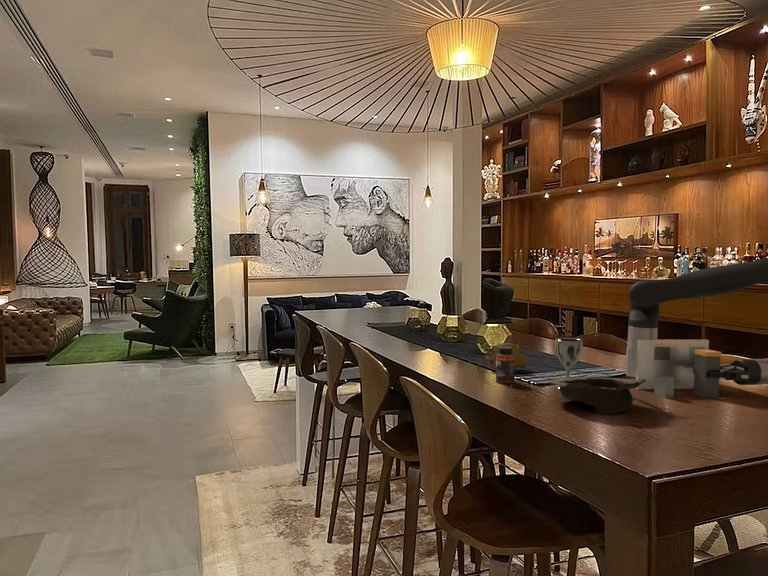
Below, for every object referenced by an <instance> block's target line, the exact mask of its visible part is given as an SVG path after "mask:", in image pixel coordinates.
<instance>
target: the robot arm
mask: <svg viewBox="0 0 768 576" xmlns="http://www.w3.org/2000/svg"><path fill="white" fill-rule="evenodd" d="M764 283H768V257H764V258H761V259H756V260H752V261H746V262H738V263H732V264H725V265H718V266H713V267H707V268H702V269H699V270H694V271H690V272H687V273H683V274H681V275H678V276H674V277H669V278H663V279H655V280H654V279H653V280H649V279H648V280H646V279H645V280H644V279H643V280H639V281H636V282H635V283H633V284H632V285H631V286H630V289H629V290H628V299H629V300H630V304H629V305H630V308H629V309H630V310H629V316H628V329H627V346H626V352H625V353H626V354H625V355H626V358H625V375H626V377H631V378H635V379H636V364H637V342H638V340H658V332H659V331H658V327H659V325H658V324H659V316H660V304H663V303H667V302H670V301H675V300H690V299H691V300H692V299H699V298H700V299H701V298H703V299H704V298H708V297H709V298H710V297H716V296H721V295H726V294H730V293H734V292H737V291H741V290H743V289H745V288H749V287H752V286H755V285H759V284H764ZM694 371H695V367H693V374H694ZM705 377H706V378H718V377H719V380H725V381H733V382H734V384H737V385H739V386H759V385H760V386H763V385H768V359H761V358H737V359H735V360H733V361H732V362H731V363H730V364H727V363H723V364H720V370H706V371H705Z"/></svg>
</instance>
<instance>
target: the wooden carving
mask: <svg viewBox="0 0 768 576" xmlns="http://www.w3.org/2000/svg"><path fill="white" fill-rule="evenodd" d="M500 347H512V354H514V355H515V369H517V368H519V369H525V368H526V366H527V364H528V361H529V360H530V357H529V356H527V355H526V354H523V353H521V352H522V349H521V346H520V345H519V344H517V343H516V344H513V343H511V342H501V343H498V344H496V345H495V344H494V345H492V346H491V354H488V355H487V354H486V355H484V356H483V357H484V358H485V359H486V360H487V361H488V362H487V364H488V365H489V366H491V368H494V369H495V370H496V355H497V354H498V353H499V352H500V351H499V348H500Z"/></svg>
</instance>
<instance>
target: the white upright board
mask: <svg viewBox="0 0 768 576" xmlns="http://www.w3.org/2000/svg"><path fill="white" fill-rule="evenodd" d="M709 344H710V340H709V339H657V340H638V342H637V364H636V378H635V381H637V380H642V379H646V381H645V382H644V383H642V384H641V385H639V386H638V387H637V388H635V389H636V390H654V393H653V395H655V396H658V397H661V398H663V399H674V397H675V396H674V395H675V394H682V392H675V389H677V390H678V389H679V390H680V389H683V390H684V389H694V374H693V367H695V350H710V349H709V346H710V345H709ZM718 394H720V392H718ZM705 399H707V400H709V399H711V400H713V399H714V400H716V399H721V400H723V399H725V397H700V398H699V397H698V398H697V397H696V398H695V397H694V398H692V397H691V398H690V397H689V398H688V397H686V398H682V397H681V398H678V400H705Z"/></svg>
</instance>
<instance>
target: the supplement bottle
mask: <svg viewBox="0 0 768 576" xmlns="http://www.w3.org/2000/svg"><path fill="white" fill-rule="evenodd" d="M499 351H500V352H499V353H498V354H497V355H496V369H495V382H496V383H498V384H504V385H511V384H514V383H515V379H516V378H515V373H516V368H515V355H514V354H512V347H500V348H499Z"/></svg>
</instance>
